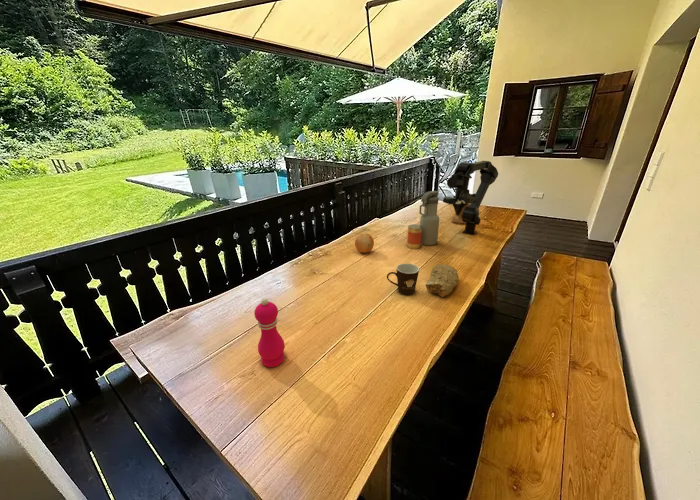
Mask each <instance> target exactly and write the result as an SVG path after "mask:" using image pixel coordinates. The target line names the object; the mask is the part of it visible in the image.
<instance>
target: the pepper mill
mask: <svg viewBox="0 0 700 500" xmlns="http://www.w3.org/2000/svg"><path fill="white" fill-rule="evenodd" d="M253 314H254V317H255V320H256V322H257V326H258V328H259V329H260V333H261V335H260V338H259V341H258V344H257V352H258V355H259V356H260V358H261V364H262V365H263V366H265V367H266V368H274V367H278V366H280V365H281V364H282V363H283V362H284V360H285V348H286V346H285V345H286V344H285V340H284V339H283V337H282V335H281V334H280V333H279V331H278V329H277V325H278V318H277V317H278V315H279V309H278V307H277V305H276V304H275V303H273V302H271V301H269V300H268V298H266V297H265V298H262V299H261V301H260V303H259V304H258V305H256V307H255V309H254V312H253Z"/></svg>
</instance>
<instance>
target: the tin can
mask: <svg viewBox="0 0 700 500" xmlns="http://www.w3.org/2000/svg"><path fill="white" fill-rule="evenodd" d="M406 236H407V237H406V247H407V248H409V249H414V250H415V249H420V248H421V246H422V244H421V238H422V226H421V225H420V224H415V223H412V224H408V225H407V235H406Z"/></svg>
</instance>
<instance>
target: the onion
mask: <svg viewBox="0 0 700 500" xmlns="http://www.w3.org/2000/svg"><path fill="white" fill-rule="evenodd" d="M374 246H375V241H374V237H373V236H372V235H371V234H369V233H367V232H364V233H360V234H358V235H357V236H356V237H355V240H354V247H355V249H356V251H358V252H359V253H361V254H365V253H369V252H371V251H372V250H373V248H374Z"/></svg>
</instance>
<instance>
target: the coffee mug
mask: <svg viewBox="0 0 700 500" xmlns="http://www.w3.org/2000/svg"><path fill="white" fill-rule="evenodd" d="M395 269H396V272H395V271H390V272H388V273H387V275H386V279H387V281H388V282H389V283H391V284H393V285H395V286H396V287H397V291H398V293H399V294H400V295H403V296H412V295H414V294H415V292H416V287H417V282H418V279H419V273H420V267H419V266H418V265H416V264H413V263H400V264H397V266H396V268H395ZM392 274H393V275H395V277H396V281H397V283H396V282H394V281H393V280H391V279H389V276H391V275H392Z"/></svg>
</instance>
